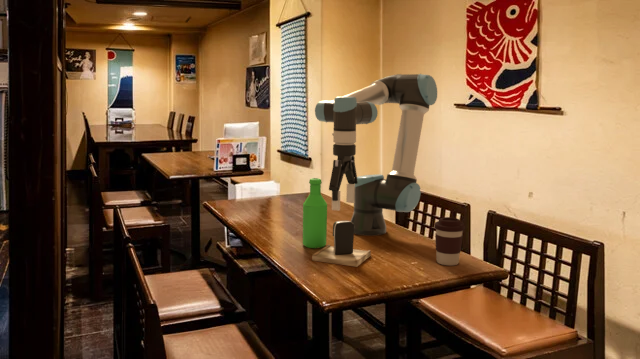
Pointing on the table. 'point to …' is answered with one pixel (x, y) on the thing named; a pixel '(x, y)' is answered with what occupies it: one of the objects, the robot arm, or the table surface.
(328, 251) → the board
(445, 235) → the coffee cup
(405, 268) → the table surface
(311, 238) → the bottle
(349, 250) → the battery charger
